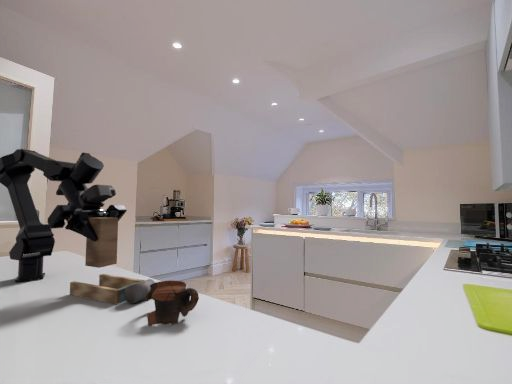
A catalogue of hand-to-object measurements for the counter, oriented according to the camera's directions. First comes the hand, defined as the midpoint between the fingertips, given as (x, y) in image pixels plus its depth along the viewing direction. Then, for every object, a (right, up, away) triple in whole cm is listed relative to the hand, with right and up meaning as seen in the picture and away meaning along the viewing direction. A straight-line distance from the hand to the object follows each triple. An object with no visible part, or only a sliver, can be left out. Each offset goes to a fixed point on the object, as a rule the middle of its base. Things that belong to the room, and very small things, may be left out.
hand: (106, 239), depth 70 cm
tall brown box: (-1, -7, 0) cm, 7 cm away
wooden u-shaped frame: (+3, -13, -2) cm, 14 cm away
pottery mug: (+21, -13, -15) cm, 29 cm away
